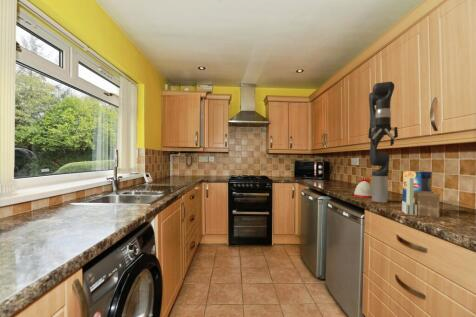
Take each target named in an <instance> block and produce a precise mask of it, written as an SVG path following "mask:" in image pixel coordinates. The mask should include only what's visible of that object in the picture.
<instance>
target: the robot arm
mask: <svg viewBox="0 0 476 317" xmlns="http://www.w3.org/2000/svg"><path fill="white" fill-rule="evenodd" d="M394 90H395V84H394V82H393V81H383V82H377V83H375V84H374V85H373V87H372V92H369V95H368V106H369V129H368V136H367V137H368V139H369V140H370V146H369V148H370V149H369V164H370V166H374V167H379V169H375V170H373V171H371V172H372V173H371V186H372V198H371V201H372V202H374V203H388V196H389V195H388V194H389V193H388V192H389V191H388V190H389V168H390V154H389V153H388V152H385V151H384V152H381V151H378V152H377V150H378V145H379V143H380V142H381V140H382V139H383V138H384V137H385V136H388V137H389V139H390V140H389V141H390V142H389V143H390V144H389V145H390V146H393V145H395V144H394V143H395V139H396V138H399V134H398V133H399V132H398V127H397V126H395V127H392V126H391V125H392V124H391V121H392V116H391V115H392V112H391V101H392V96H393V93H394ZM391 131H392V132H393V133H394V135H393V134H392V133H391Z"/></svg>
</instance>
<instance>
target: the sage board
mask: <svg viewBox="0 0 476 317" xmlns="http://www.w3.org/2000/svg"><path fill="white" fill-rule="evenodd" d="M413 191H414V178H408V177H407V194H406V203H407V204H408V214H409V215H410V216H414V215H413ZM409 215H408V216H409Z"/></svg>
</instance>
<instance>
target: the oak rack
mask: <svg viewBox="0 0 476 317" xmlns="http://www.w3.org/2000/svg"><path fill="white" fill-rule="evenodd" d="M417 197H418V198H417ZM413 203H415V204H416V205H417V215H416V216H421V217H423V216H424V217H434V218H440V193H435V192H434V191H432V192H428V191H413Z"/></svg>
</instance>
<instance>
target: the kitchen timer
mask: <svg viewBox="0 0 476 317" xmlns="http://www.w3.org/2000/svg"><path fill="white" fill-rule="evenodd" d="M371 181H372V178H369V177H365V178H364V176H363V177H362V178H360V180H358V182H359V183H358V184H357V185H356V187H355V189H354V193H353V197H356V198H362V199H372V184H370V182H371Z"/></svg>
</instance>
